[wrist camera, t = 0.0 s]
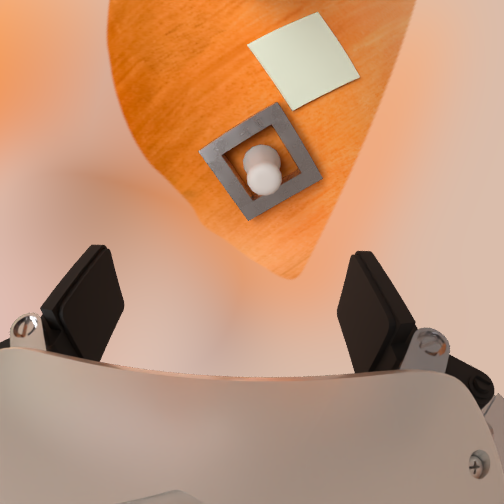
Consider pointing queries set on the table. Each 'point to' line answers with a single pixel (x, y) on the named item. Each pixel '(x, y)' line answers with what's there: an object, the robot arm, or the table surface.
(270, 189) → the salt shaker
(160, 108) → the table surface
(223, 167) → the grey square frame
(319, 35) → the mat
